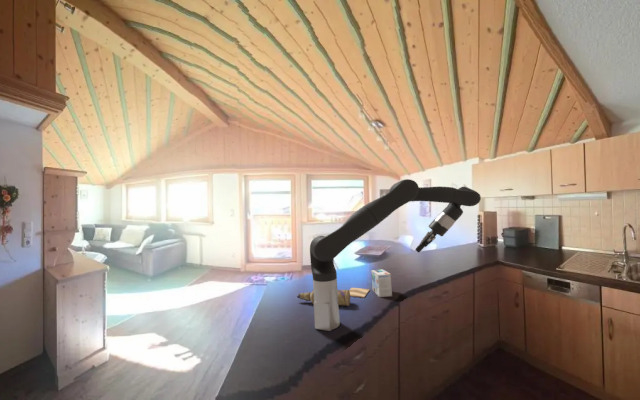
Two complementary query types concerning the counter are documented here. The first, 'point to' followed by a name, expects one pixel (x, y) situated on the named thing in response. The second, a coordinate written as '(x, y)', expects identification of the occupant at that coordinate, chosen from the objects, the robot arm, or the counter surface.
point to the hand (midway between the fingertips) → (417, 251)
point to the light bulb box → (381, 283)
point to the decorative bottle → (342, 297)
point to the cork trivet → (358, 292)
